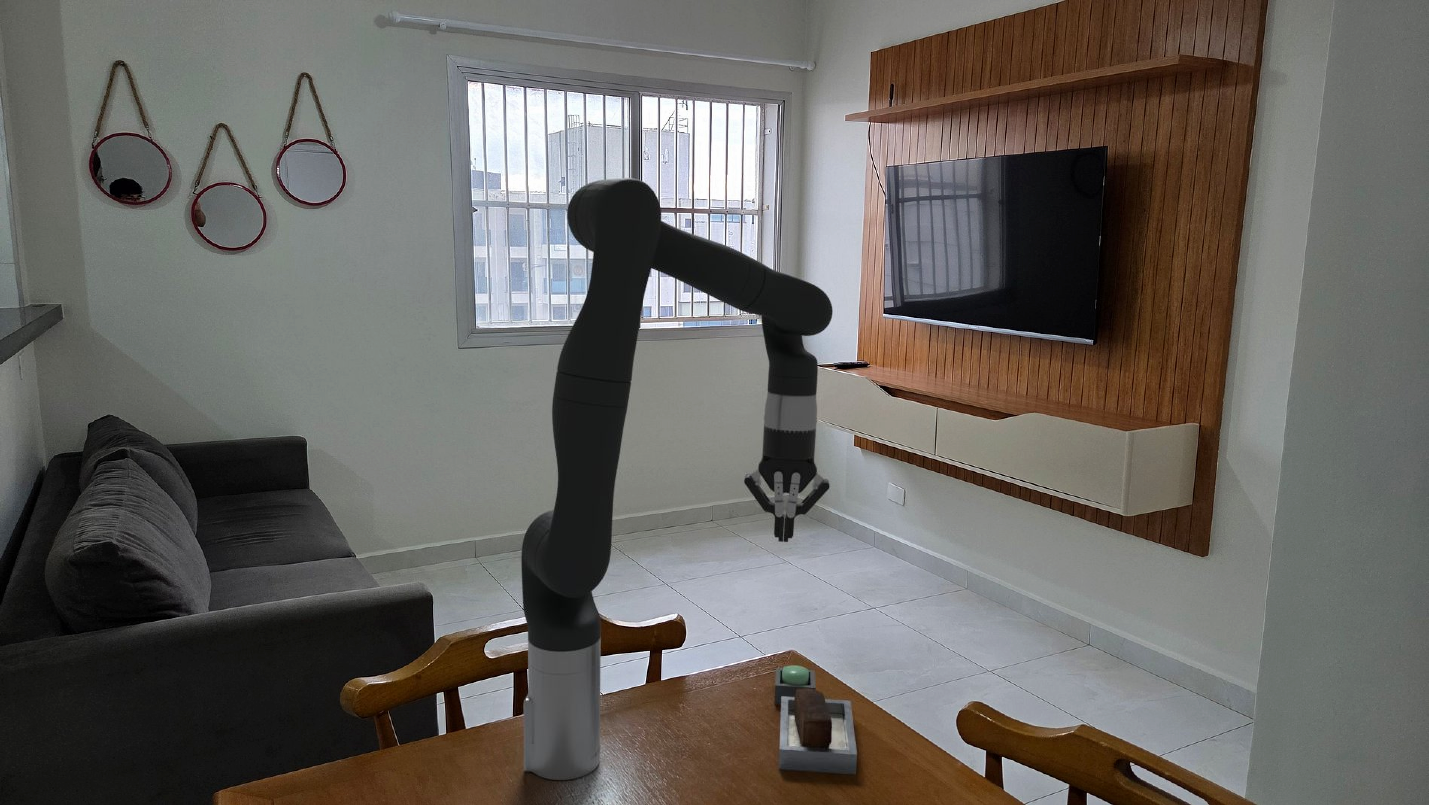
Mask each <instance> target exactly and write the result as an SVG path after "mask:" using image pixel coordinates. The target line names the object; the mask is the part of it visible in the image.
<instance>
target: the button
mask: <svg viewBox="0 0 1429 805" xmlns="http://www.w3.org/2000/svg"><path fill="white" fill-rule="evenodd" d="M782 668H783V670H782V684H795V685H808V680H809V671H808V670H809V669H808V668H806V667H804V666H801V665H796V664H794V665H787V666H784V667H782Z"/></svg>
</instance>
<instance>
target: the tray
mask: <svg viewBox="0 0 1429 805" xmlns="http://www.w3.org/2000/svg"><path fill="white" fill-rule="evenodd" d="M824 699H825V701H826V705H827V708H828V711H829V714H830V717H831V720H832V742H831V743H830V745H829V749H826V748H812V747H802V746H801V742H800V738H799V734H798V730H797V725H796V721H795V715H794V697H785V696H781V705H780V720H779V721H780V724H779V727H780V728H779V750H778V752H779V753H778V754H779V755H778V770H784V771H785V770H787V771H788V770H789V771H799V772H813V773H815V772H816V773H828V774H829V773H830V774H841V775H842V774H844V775H854V776H856V775H857V762H858V761H857V760H858V751H857V744H856V736H855V735H856V734H855V727H854V719H853V712H852V711H853V710H852V702H851V700H842V699H830V698H829V699H828V698H824Z"/></svg>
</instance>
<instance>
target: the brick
mask: <svg viewBox="0 0 1429 805" xmlns="http://www.w3.org/2000/svg"><path fill="white" fill-rule="evenodd" d="M825 699H826V698H825V695H824V693H823V691H819V690H816V689H815V690H813V689H808V688H805V689H797V690H796V695H795V697H794V715H795V721H796V725H797V730H798V734H799V738H800V742H801V746H802V747H812V748H826V749H829V745H830V743H831V742H832V720H831V717H830V714H829V711H828V708H827V705H826V701H825Z"/></svg>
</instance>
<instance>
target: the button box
mask: <svg viewBox="0 0 1429 805" xmlns="http://www.w3.org/2000/svg"><path fill="white" fill-rule="evenodd" d="M783 668H784V667H782V668H779V667H776V668H775V678H774V679H775V680H774V683H775V684H774V705H779V706H781V696H785V697H795V695H796V690H797V689H805V688H808V689H813V690H816V687H817V686H816V672H815V670H816V669H815V670H813V669H808V671H809V680H808V685H795V684H782V670H783Z"/></svg>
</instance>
